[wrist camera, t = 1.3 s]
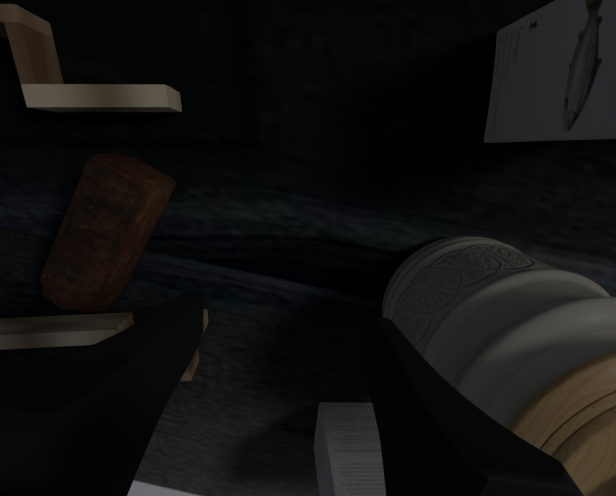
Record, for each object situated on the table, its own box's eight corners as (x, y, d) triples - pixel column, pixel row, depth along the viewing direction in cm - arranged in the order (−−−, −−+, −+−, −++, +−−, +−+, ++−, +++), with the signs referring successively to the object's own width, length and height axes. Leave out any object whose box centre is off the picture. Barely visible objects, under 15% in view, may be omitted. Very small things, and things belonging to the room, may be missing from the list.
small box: (312, 443, 31) (326, 585, 21) (318, 399, 29) (336, 530, 19) (388, 443, 31) (437, 580, 21) (398, 400, 30) (457, 527, 20)
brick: (127, 150, 21) (85, 150, 17) (180, 181, 22) (154, 188, 18) (73, 272, 24) (24, 300, 19) (123, 295, 24) (87, 327, 20)
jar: (490, 369, 29) (763, 658, 13) (363, 357, 28) (482, 669, 11) (543, 243, 26) (1031, 417, 9) (399, 220, 24) (663, 380, 7)
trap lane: (-39, 373, 25) (-72, 396, 23) (-195, 18, 18) (-269, -2, 15) (213, 359, 27) (206, 379, 24) (170, 25, 19) (154, 7, 17)
